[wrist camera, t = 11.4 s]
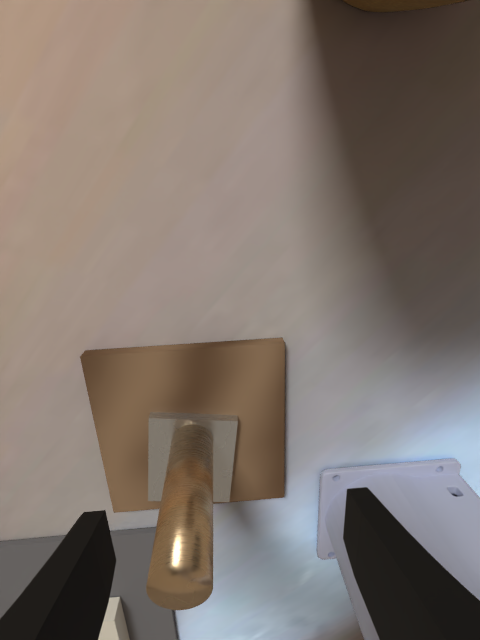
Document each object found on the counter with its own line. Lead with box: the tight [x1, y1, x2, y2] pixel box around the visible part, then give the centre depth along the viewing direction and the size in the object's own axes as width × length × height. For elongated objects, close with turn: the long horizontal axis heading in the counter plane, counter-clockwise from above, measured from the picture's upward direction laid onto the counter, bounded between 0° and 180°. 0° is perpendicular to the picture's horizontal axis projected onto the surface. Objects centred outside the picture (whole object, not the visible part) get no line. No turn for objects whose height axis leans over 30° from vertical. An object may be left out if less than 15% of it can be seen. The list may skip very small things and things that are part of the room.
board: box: [80, 338, 285, 513], centre depth 21 cm, size 11×11×1 cm
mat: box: [0, 527, 178, 640], centre depth 26 cm, size 14×18×1 cm
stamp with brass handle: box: [146, 412, 238, 610], centre depth 17 cm, size 6×5×9 cm
